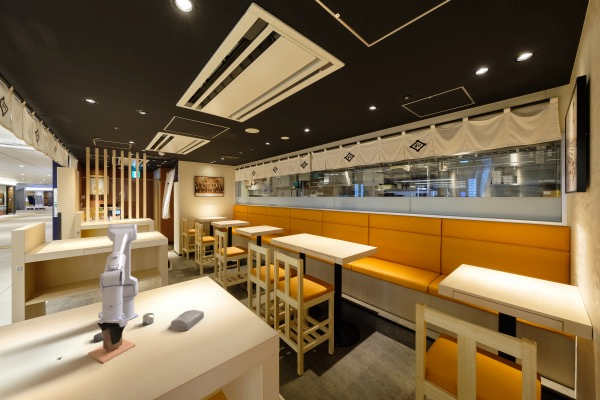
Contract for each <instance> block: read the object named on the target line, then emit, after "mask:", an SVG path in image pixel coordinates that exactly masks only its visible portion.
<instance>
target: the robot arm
mask: <svg viewBox="0 0 600 400" xmlns="http://www.w3.org/2000/svg"><path fill="white" fill-rule="evenodd" d="M106 233H107V238H108V239H109V241H111V242H112V246H111V247H112V249H111V253H110V254H109V255H108V256H107V257H106V262H105V265H104V270H103V271H104V272H102V273H101V274H100V277H99V287H100V294H102V297H101V300H102V301H101V302H102V303H101V304H102V305H101V311H99V312H98V320H97V323H96V324H97V326H98V327H99V328H100V330H101V332H102V333H103V331H105V330H107V329H108V331H109V333H110V336H111V342H112V344H113V345H114V344H116V343H118V342H120V339H121V335H122V336H123V332H124V330H125V328H126V326H127V325H128V321H130V320H131V319H134V318H137V317H138V316H139V314H138V313H135V297H137V295H138V294H139V282H138V281H139V280H138V278H136V277H134V276H133V275H131V270H132V267H131V262H132V261H131V260H132V259H131V253H132V252H131V248H132V247H131V246H132V243H133V242H134V241H136V240H137V239H138V224H136V223H124V224H109V225H108V227H107V232H106Z"/></svg>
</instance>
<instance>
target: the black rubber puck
mask: <svg viewBox="0 0 600 400" xmlns="http://www.w3.org/2000/svg"><path fill="white" fill-rule="evenodd" d="M92 340H93V342H94V343H101V342H103V333H102V331H101V332H98V333H96V334H94V335H93V339H92Z"/></svg>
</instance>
